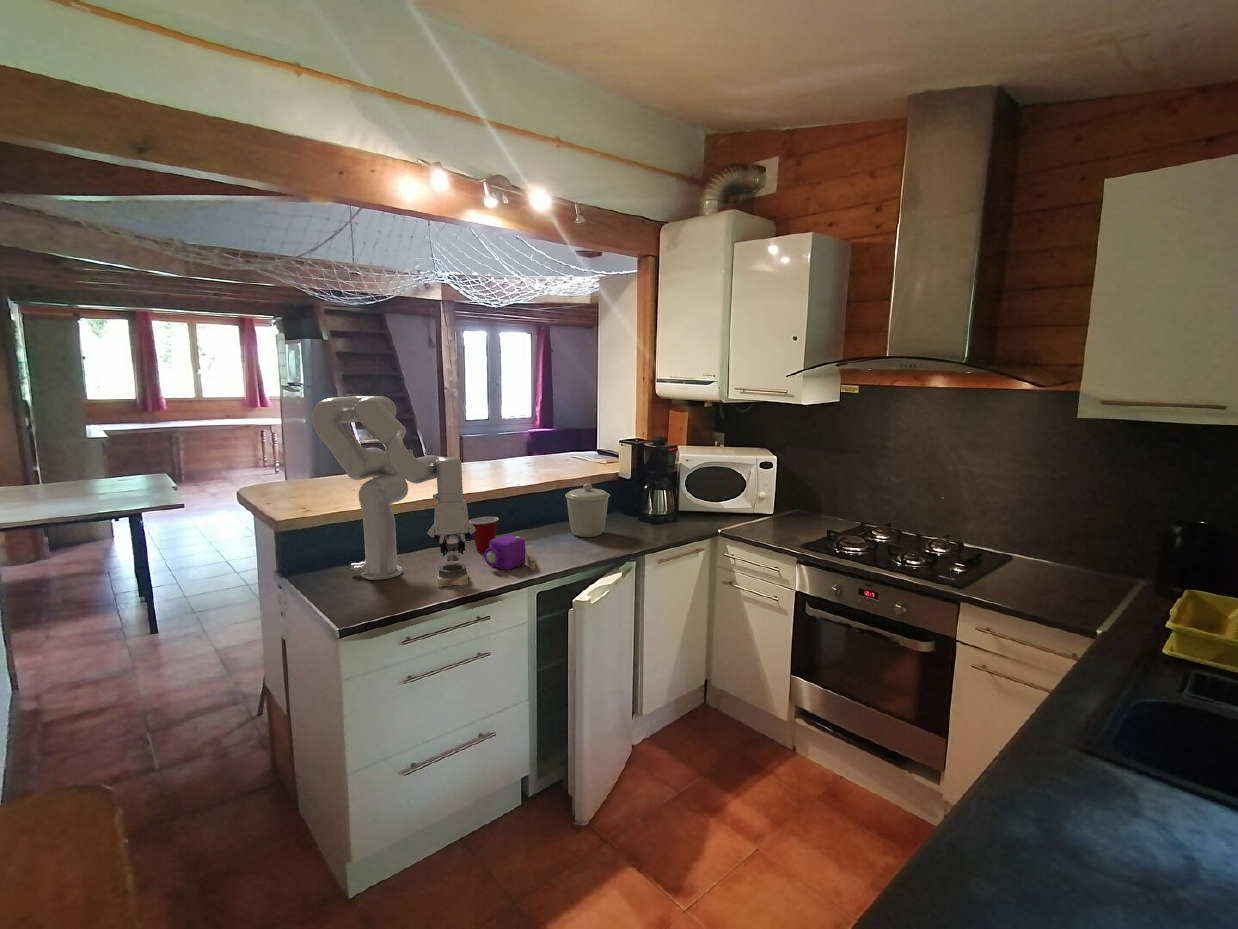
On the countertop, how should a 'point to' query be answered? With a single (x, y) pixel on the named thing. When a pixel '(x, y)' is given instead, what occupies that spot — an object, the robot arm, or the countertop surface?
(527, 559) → the rail
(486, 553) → the toy camera
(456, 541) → the lens
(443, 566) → the mount
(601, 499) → the canister
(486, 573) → the countertop surface
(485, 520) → the plastic cup
